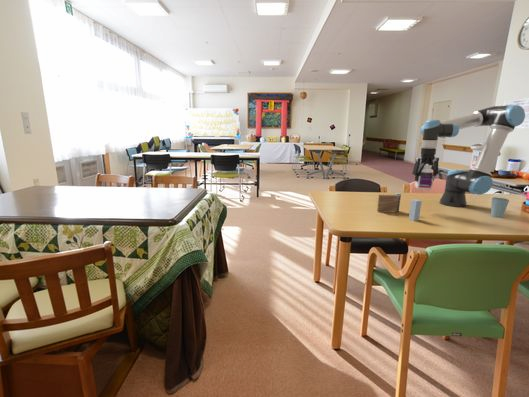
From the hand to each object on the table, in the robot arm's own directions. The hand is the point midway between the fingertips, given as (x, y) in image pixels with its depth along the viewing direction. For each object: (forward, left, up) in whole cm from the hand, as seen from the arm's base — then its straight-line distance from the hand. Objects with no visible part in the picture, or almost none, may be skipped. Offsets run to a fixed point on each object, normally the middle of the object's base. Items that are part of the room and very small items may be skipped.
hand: (423, 186), depth 173 cm
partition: (+15, +7, -15) cm, 23 cm away
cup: (-39, +15, -15) cm, 44 cm away
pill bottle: (0, 0, -2) cm, 2 cm away
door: (+21, -1, -15) cm, 26 cm away
